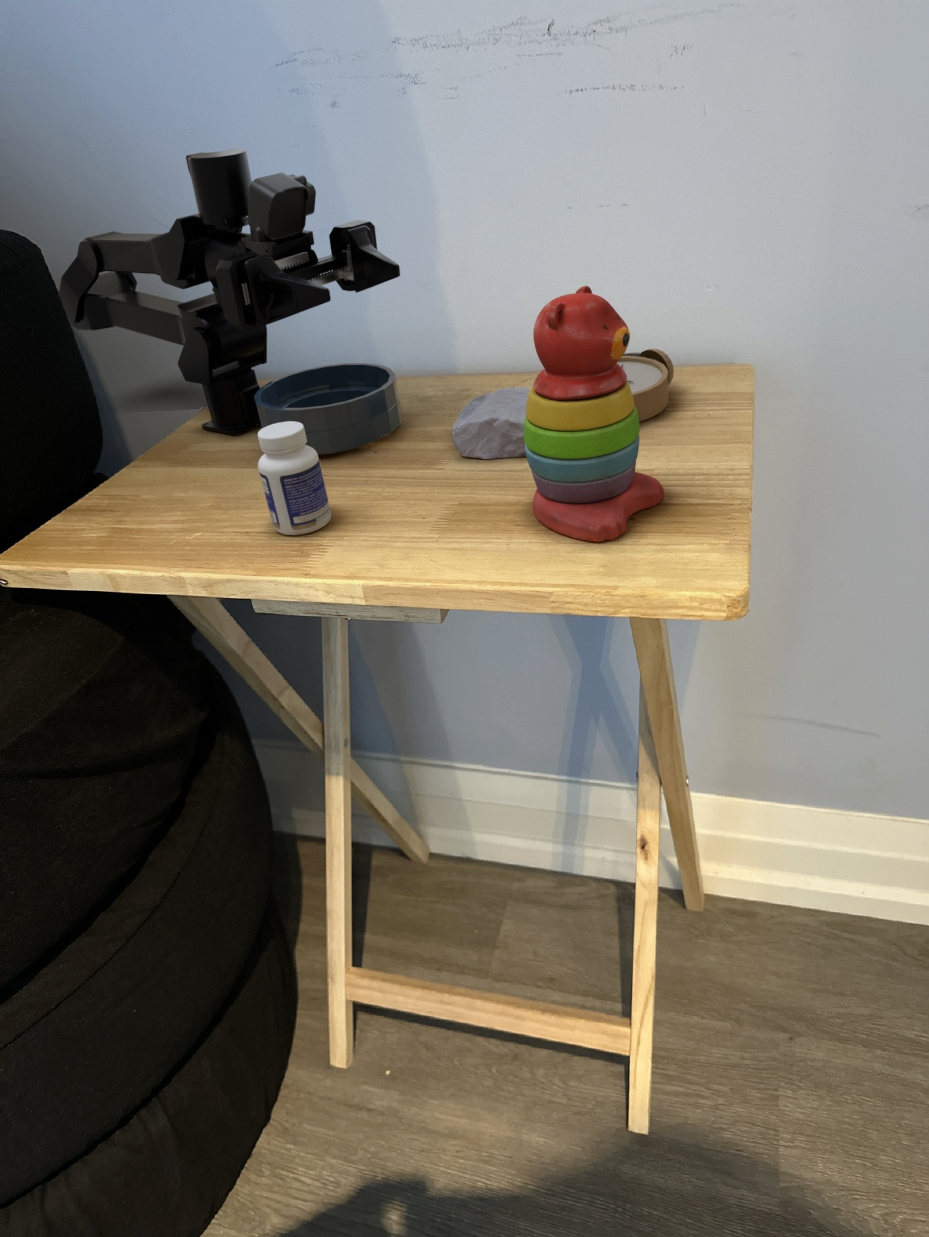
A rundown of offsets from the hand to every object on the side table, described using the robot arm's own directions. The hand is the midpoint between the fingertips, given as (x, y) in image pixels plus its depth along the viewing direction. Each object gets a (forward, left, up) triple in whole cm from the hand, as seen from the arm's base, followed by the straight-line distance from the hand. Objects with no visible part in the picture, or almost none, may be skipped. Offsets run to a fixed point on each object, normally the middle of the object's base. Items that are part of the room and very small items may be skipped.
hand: (364, 282), depth 85 cm
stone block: (+8, +9, -17) cm, 21 cm away
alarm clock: (+14, +22, -17) cm, 31 cm away
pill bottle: (+3, -15, -17) cm, 23 cm away
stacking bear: (+25, -2, -17) cm, 30 cm away
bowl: (-11, +3, -17) cm, 21 cm away
